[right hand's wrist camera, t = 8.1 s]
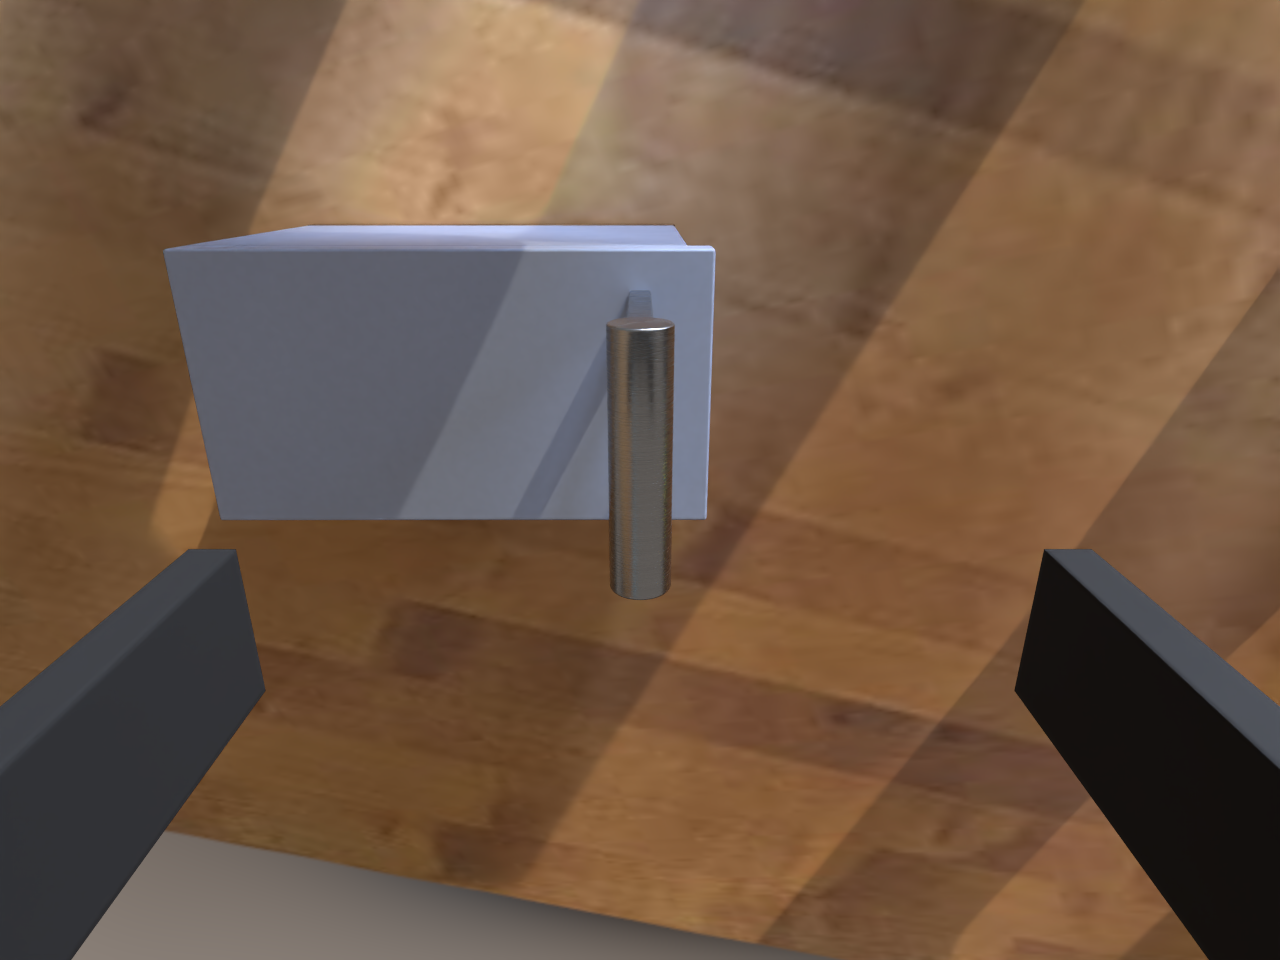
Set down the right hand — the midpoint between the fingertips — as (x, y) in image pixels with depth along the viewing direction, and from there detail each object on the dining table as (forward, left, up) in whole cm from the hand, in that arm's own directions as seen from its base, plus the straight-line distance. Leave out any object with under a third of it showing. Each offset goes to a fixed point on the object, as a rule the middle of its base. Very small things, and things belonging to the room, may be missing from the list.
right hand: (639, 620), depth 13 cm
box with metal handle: (+3, -5, -15) cm, 17 cm away
